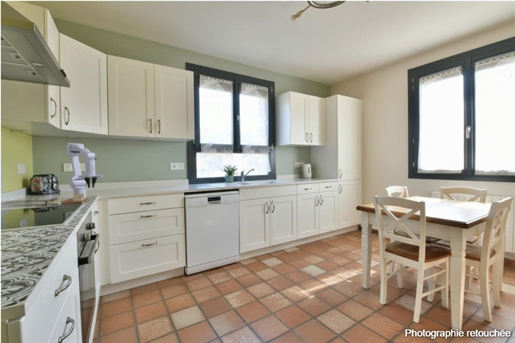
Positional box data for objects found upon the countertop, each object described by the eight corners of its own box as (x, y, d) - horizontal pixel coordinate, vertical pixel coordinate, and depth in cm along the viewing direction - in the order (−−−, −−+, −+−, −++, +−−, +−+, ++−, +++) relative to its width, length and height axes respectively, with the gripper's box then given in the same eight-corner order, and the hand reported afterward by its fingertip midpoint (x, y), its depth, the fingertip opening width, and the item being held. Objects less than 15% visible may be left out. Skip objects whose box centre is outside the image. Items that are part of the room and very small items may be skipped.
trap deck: (55, 202, 168) (55, 197, 168) (88, 200, 176) (88, 195, 176) (45, 206, 154) (44, 201, 154) (81, 204, 161) (81, 199, 161)
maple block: (76, 199, 169) (75, 194, 168) (84, 199, 171) (84, 193, 170) (73, 200, 164) (73, 195, 164) (82, 200, 166) (82, 194, 166)
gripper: (76, 169, 163) (77, 188, 163) (100, 169, 168) (101, 187, 169) (79, 169, 169) (80, 187, 170) (103, 168, 175) (103, 186, 175)
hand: (91, 187), depth 170 cm, fingers closed
